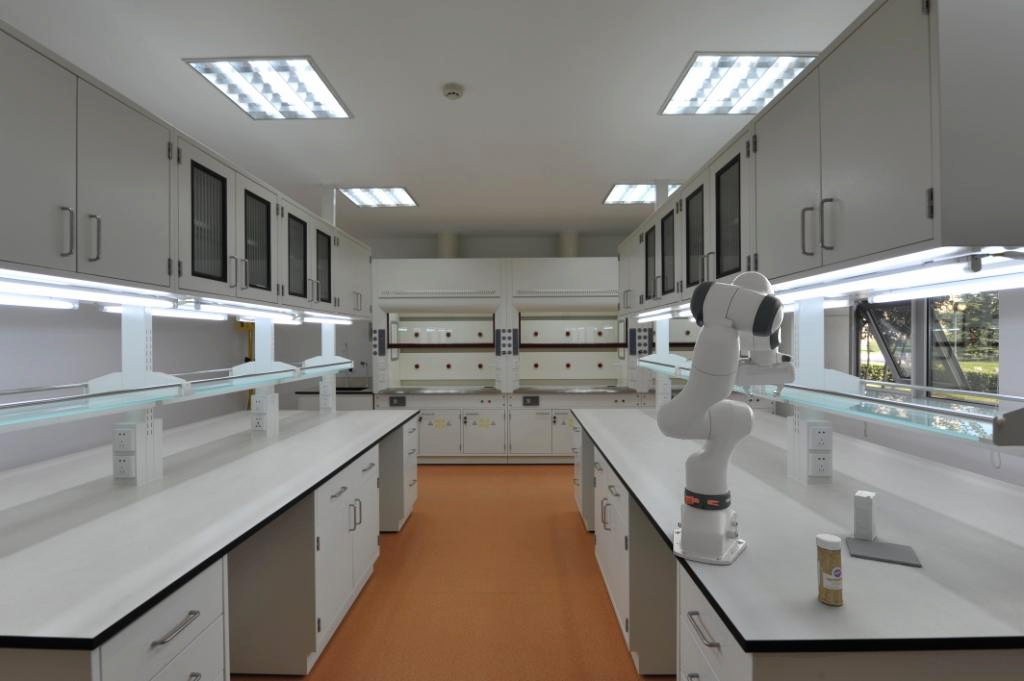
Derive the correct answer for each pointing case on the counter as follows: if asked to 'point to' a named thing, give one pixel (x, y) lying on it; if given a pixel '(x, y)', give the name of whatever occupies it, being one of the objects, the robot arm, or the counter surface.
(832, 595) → the sprinkles bottle
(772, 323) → the robot arm
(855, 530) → the skincare box
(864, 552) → the mat
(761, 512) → the counter surface
